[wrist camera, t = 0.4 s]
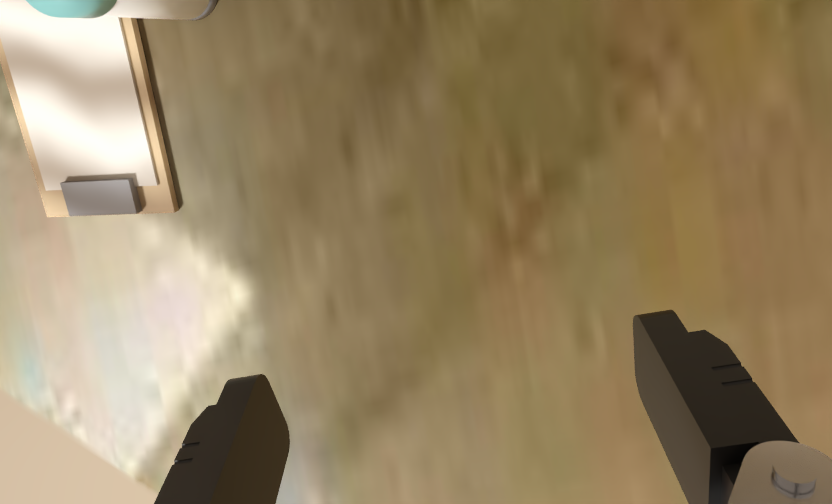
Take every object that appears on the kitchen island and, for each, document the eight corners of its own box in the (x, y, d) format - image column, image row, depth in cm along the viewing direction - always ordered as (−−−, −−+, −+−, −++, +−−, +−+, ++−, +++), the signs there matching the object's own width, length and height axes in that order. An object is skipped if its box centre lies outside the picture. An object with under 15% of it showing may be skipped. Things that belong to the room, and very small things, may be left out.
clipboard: (-29, -60, 37) (-47, -63, 36) (115, -78, 36) (101, -82, 34) (53, 214, 43) (40, 220, 42) (179, 210, 42) (169, 215, 40)
